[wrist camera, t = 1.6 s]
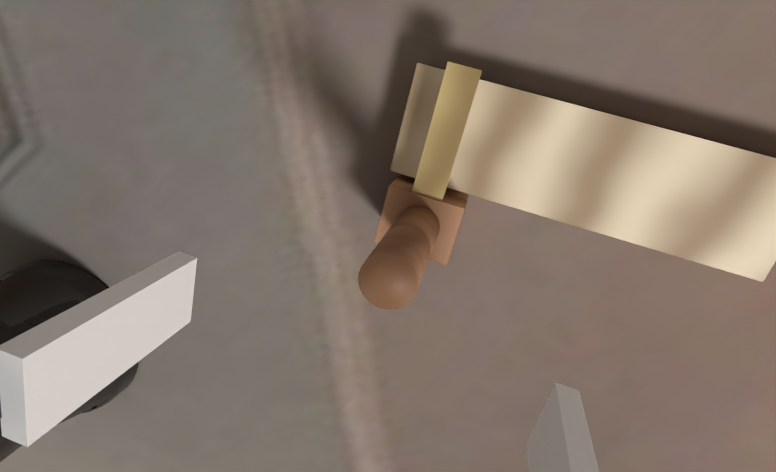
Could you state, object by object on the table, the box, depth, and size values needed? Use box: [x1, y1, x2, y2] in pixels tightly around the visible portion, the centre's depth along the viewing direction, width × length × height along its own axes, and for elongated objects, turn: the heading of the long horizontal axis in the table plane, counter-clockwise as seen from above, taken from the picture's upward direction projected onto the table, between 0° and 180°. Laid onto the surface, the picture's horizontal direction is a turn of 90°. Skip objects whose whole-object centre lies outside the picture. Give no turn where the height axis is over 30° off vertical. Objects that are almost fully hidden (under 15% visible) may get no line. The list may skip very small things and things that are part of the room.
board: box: [390, 63, 776, 282], centre depth 29 cm, size 24×7×2 cm, turn 76°
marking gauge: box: [358, 62, 482, 310], centre depth 26 cm, size 5×12×13 cm, turn 166°
